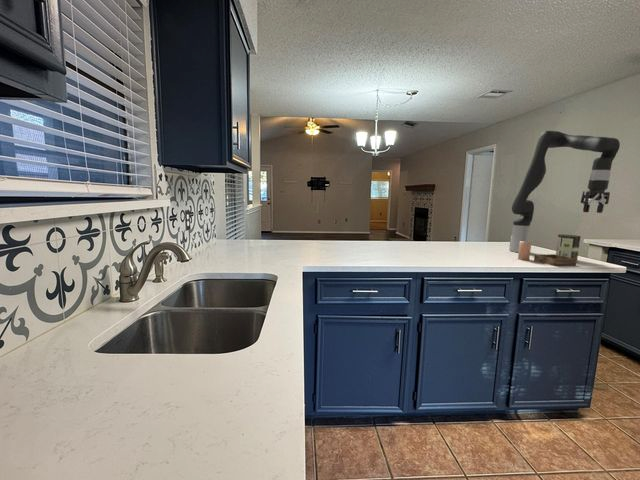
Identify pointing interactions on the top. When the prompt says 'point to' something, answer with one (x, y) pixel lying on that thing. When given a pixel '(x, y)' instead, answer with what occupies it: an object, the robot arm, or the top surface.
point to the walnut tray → (555, 260)
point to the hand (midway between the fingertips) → (592, 212)
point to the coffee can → (568, 246)
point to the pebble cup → (524, 250)
